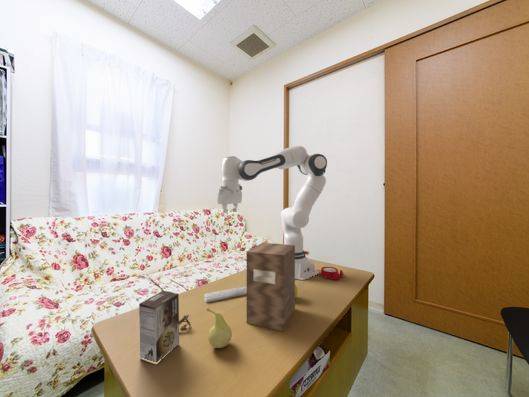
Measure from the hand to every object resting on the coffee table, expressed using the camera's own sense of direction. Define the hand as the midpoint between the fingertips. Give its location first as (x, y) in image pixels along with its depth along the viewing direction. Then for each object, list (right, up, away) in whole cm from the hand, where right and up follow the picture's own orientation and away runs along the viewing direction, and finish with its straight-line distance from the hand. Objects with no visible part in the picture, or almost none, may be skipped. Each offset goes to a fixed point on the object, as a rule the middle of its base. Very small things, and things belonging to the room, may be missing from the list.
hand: (230, 212), depth 119 cm
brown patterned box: (+21, -38, -34) cm, 55 cm away
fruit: (+5, -38, -52) cm, 64 cm away
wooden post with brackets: (-11, -38, -44) cm, 59 cm away
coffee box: (-12, -38, -54) cm, 67 cm away
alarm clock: (+57, -38, +6) cm, 69 cm away
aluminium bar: (+2, -38, -18) cm, 42 cm away
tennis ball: (+30, -38, -21) cm, 52 cm away
